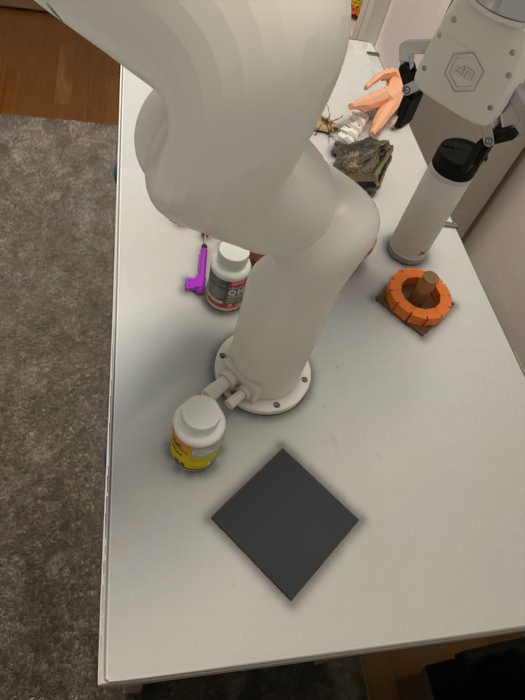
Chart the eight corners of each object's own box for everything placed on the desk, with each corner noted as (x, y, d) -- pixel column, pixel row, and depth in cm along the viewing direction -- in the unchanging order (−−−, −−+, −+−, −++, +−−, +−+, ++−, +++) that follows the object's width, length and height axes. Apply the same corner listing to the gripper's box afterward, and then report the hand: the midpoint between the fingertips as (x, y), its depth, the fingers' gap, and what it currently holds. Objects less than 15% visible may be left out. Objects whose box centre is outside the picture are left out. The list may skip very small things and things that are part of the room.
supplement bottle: (167, 431, 65) (171, 389, 57) (214, 426, 67) (224, 385, 58) (172, 476, 63) (177, 439, 54) (221, 470, 64) (232, 433, 56)
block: (356, 171, 100) (359, 164, 99) (328, 155, 101) (330, 148, 99) (364, 159, 102) (368, 152, 100) (336, 144, 102) (339, 136, 101)
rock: (327, 170, 94) (338, 195, 99) (379, 164, 89) (388, 190, 93) (341, 136, 98) (352, 161, 102) (392, 128, 93) (401, 155, 97)
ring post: (422, 337, 81) (440, 312, 76) (374, 298, 83) (389, 272, 78) (453, 306, 85) (472, 280, 80) (407, 270, 88) (422, 244, 83)
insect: (295, 126, 101) (292, 135, 102) (348, 140, 101) (345, 149, 103) (300, 96, 105) (297, 105, 107) (351, 110, 106) (348, 119, 108)
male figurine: (368, 153, 103) (417, 112, 118) (387, 137, 99) (435, 96, 114) (332, 106, 101) (387, 70, 117) (350, 87, 97) (404, 53, 113)
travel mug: (425, 270, 88) (489, 168, 72) (385, 259, 88) (441, 154, 72) (426, 243, 92) (488, 140, 76) (388, 232, 92) (442, 127, 75)
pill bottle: (230, 318, 76) (240, 272, 68) (198, 299, 77) (204, 250, 69) (250, 295, 79) (263, 247, 71) (219, 276, 80) (228, 227, 72)
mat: (291, 601, 58) (291, 600, 57) (211, 517, 61) (211, 517, 61) (358, 520, 64) (359, 519, 63) (282, 448, 67) (282, 447, 67)
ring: (424, 337, 80) (430, 329, 78) (373, 296, 82) (377, 288, 81) (457, 303, 85) (463, 296, 83) (408, 266, 87) (412, 258, 86)
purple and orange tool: (205, 294, 77) (211, 215, 86) (204, 289, 76) (210, 209, 85) (186, 295, 77) (194, 216, 86) (184, 290, 76) (193, 210, 85)
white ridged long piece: (352, 110, 109) (356, 102, 108) (368, 121, 109) (373, 113, 108) (333, 137, 102) (338, 130, 100) (351, 149, 102) (356, 142, 100)
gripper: (418, -41, 52) (360, 119, 66) (580, 47, 48) (481, 199, 62) (455, -57, 56) (393, 98, 70) (609, 24, 52) (509, 172, 66)
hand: (434, 145), depth 66 cm, fingers open, 9 cm apart
